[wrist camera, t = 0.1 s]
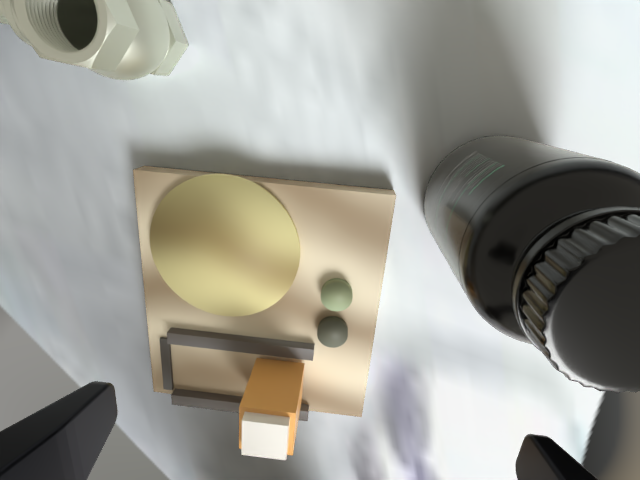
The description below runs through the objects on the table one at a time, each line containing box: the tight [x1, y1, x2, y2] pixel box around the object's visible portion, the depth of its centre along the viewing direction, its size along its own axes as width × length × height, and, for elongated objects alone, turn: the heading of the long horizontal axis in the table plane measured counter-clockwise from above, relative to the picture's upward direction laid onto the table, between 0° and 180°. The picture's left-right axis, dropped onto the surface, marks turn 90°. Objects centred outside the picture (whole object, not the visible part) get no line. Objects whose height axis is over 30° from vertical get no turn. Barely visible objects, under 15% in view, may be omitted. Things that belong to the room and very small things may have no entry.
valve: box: [0, 0, 188, 80], centre depth 16 cm, size 7×7×12 cm
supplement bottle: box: [424, 136, 640, 393], centre depth 15 cm, size 7×7×12 cm
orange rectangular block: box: [239, 358, 305, 460], centre depth 22 cm, size 3×3×5 cm
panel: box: [133, 166, 396, 421], centre depth 23 cm, size 16×14×2 cm
